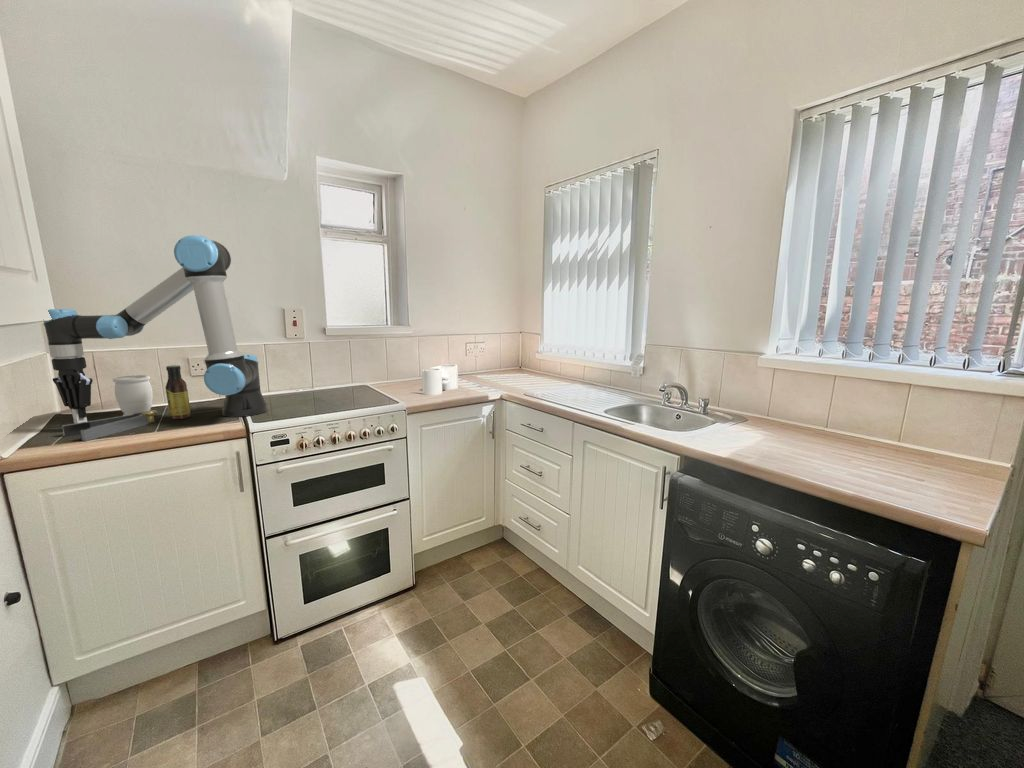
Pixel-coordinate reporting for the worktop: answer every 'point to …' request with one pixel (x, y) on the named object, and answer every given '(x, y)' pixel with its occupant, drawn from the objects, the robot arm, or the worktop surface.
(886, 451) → the worktop surface
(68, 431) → the tongs moving arm
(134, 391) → the jar
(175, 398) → the sauce bottle
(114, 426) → the arm
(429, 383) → the white paper rolls
